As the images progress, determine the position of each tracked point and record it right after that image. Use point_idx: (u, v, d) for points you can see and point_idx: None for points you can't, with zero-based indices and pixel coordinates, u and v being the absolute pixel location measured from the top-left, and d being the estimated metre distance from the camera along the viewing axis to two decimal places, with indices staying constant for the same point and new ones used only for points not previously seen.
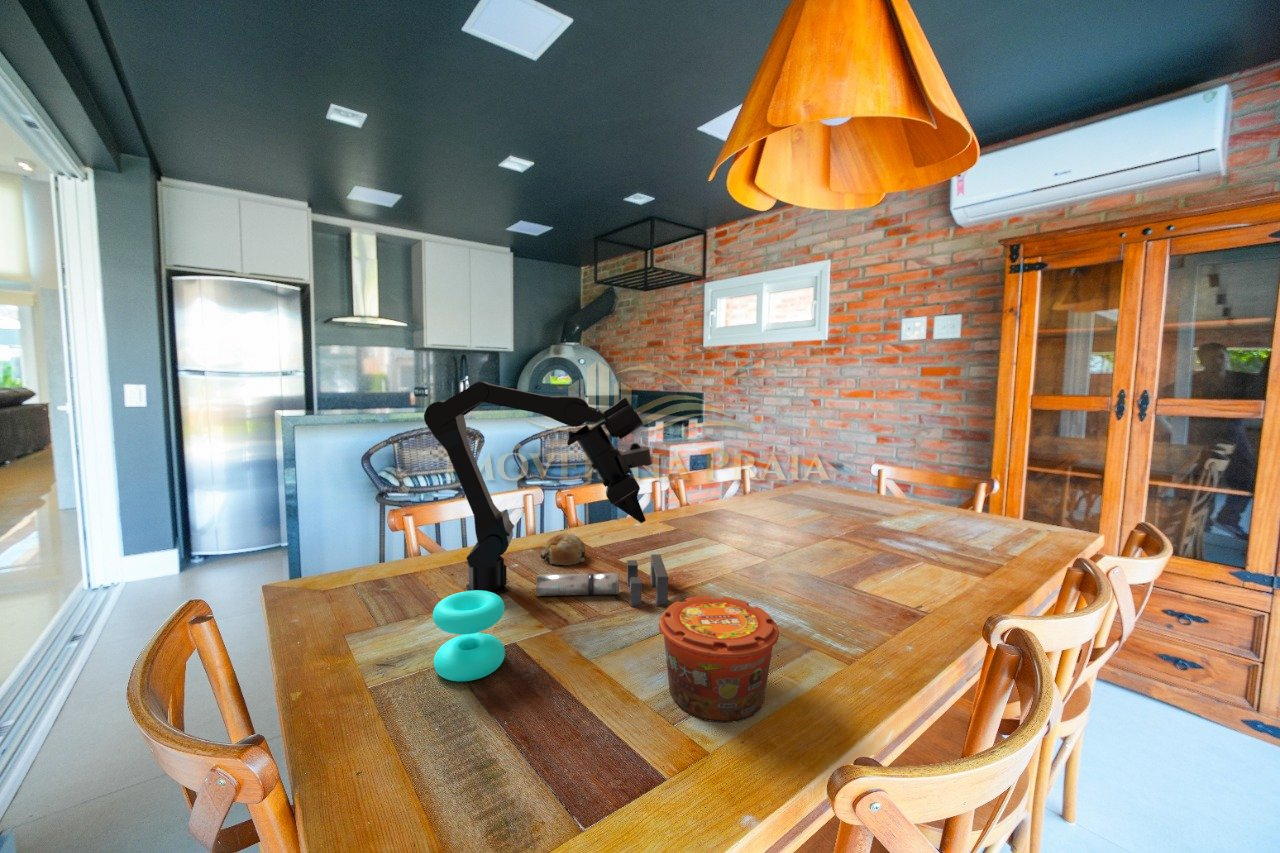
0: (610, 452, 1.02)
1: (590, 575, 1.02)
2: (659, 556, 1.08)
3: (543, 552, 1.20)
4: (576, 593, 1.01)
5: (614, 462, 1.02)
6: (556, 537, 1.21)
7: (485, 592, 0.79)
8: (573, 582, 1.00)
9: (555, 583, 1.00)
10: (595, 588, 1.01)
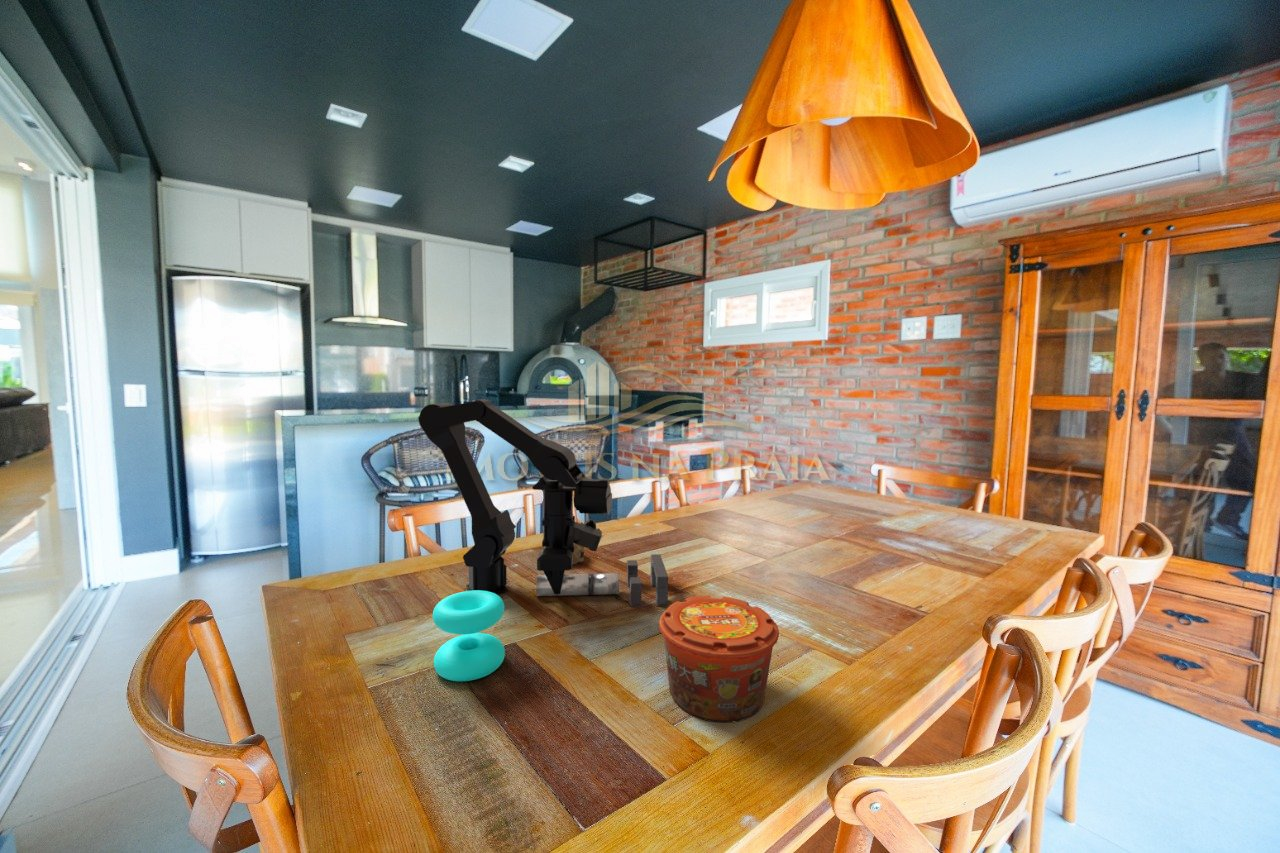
0: (565, 519, 0.99)
1: (590, 575, 1.02)
2: (659, 556, 1.08)
3: None
4: (576, 593, 1.01)
5: (564, 529, 0.99)
6: None
7: (485, 592, 0.79)
8: (573, 583, 1.00)
9: None
10: (595, 589, 1.01)
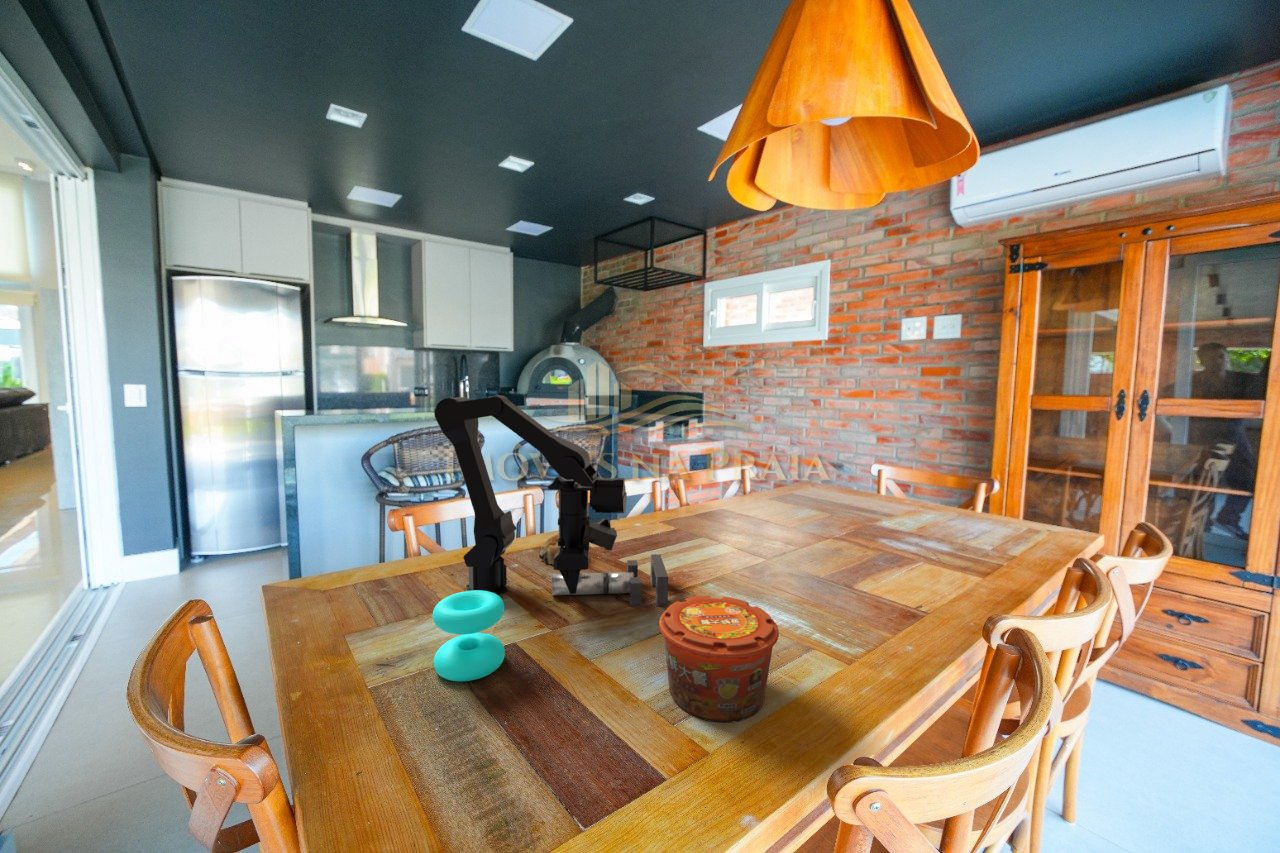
0: (581, 518, 0.99)
1: (605, 574, 1.02)
2: (659, 556, 1.08)
3: (541, 552, 1.20)
4: (591, 592, 1.01)
5: (580, 529, 0.99)
6: (554, 537, 1.21)
7: (485, 592, 0.79)
8: (588, 582, 1.01)
9: None
10: (610, 588, 1.01)
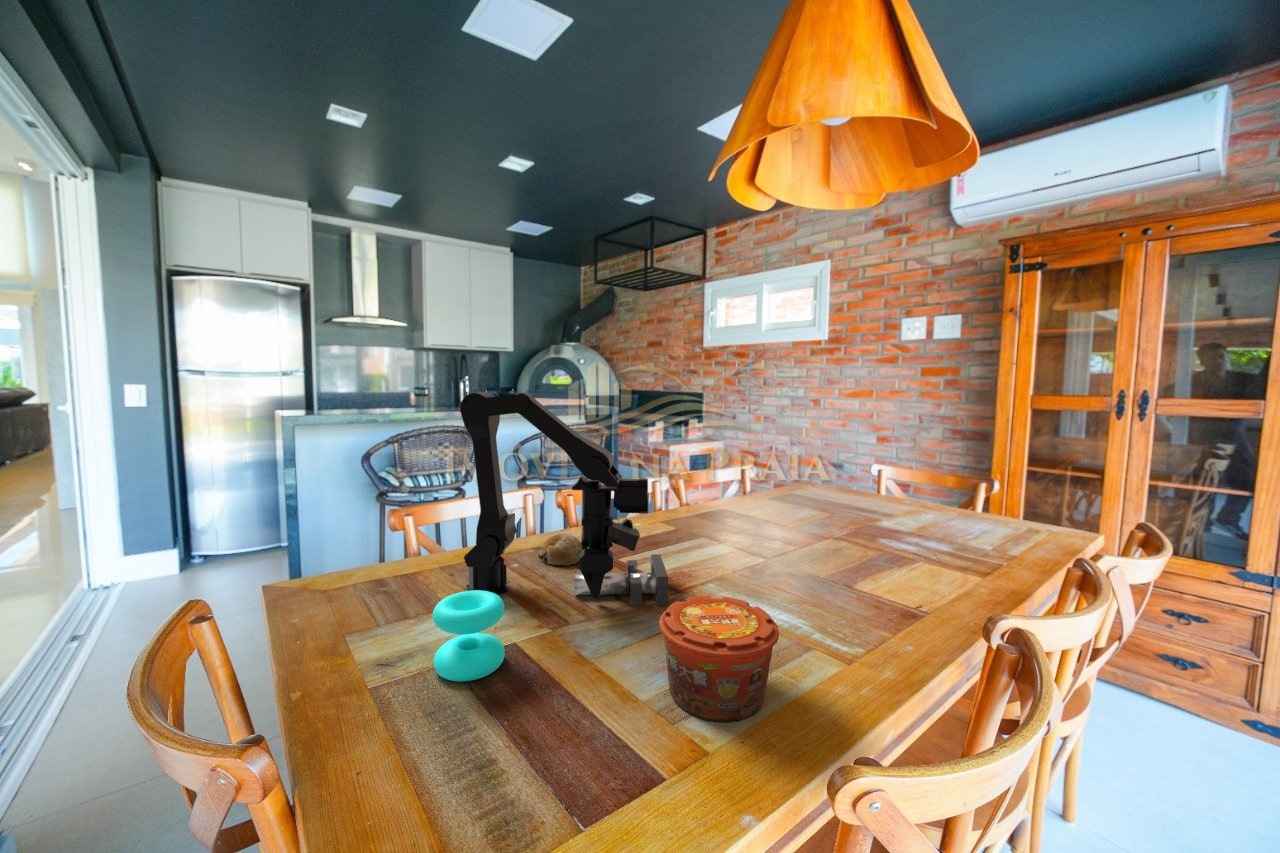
0: (605, 519, 0.99)
1: (627, 575, 1.02)
2: (659, 556, 1.08)
3: (541, 552, 1.20)
4: (614, 592, 1.01)
5: (603, 529, 0.99)
6: (554, 537, 1.21)
7: (485, 592, 0.79)
8: (610, 582, 1.01)
9: None
10: None
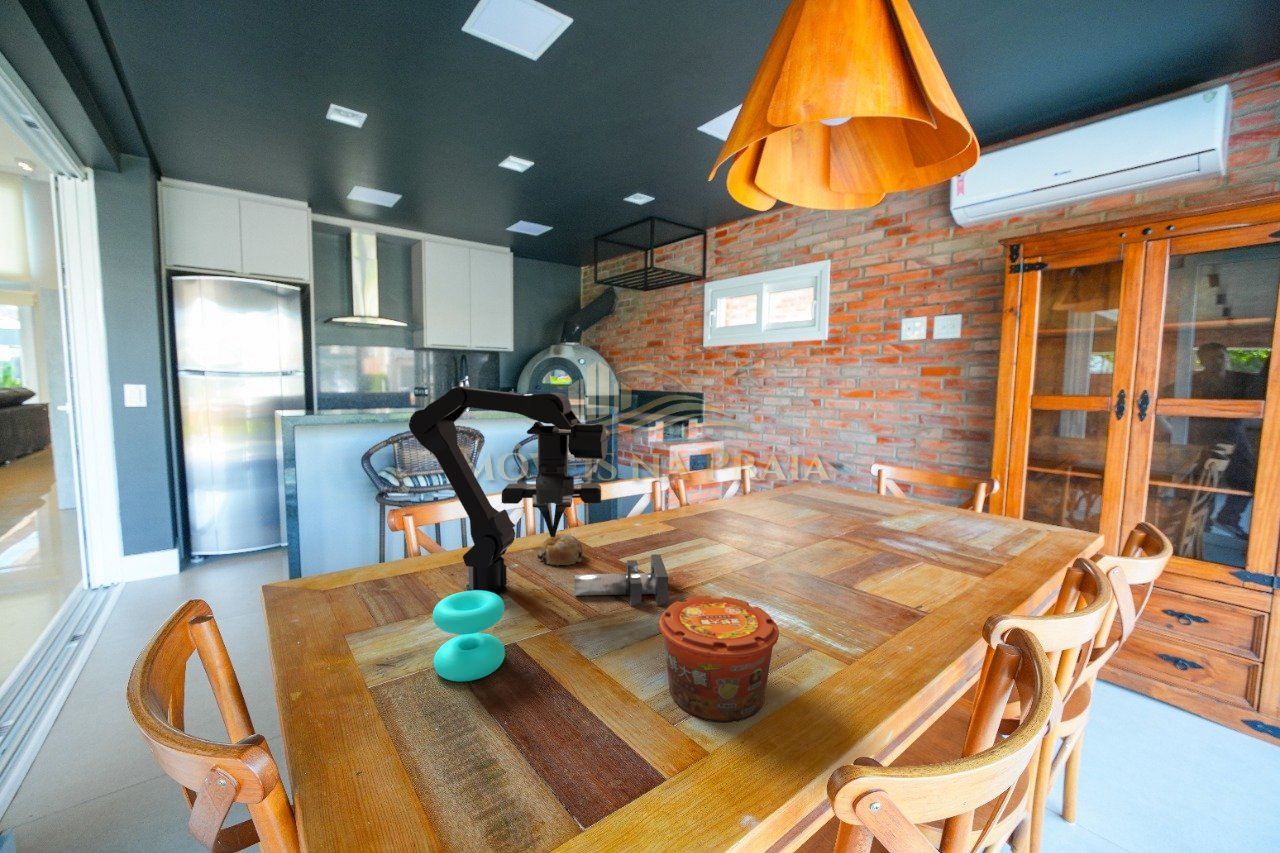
0: (539, 463, 0.98)
1: (627, 576, 1.02)
2: (659, 556, 1.08)
3: (540, 552, 1.20)
4: (614, 594, 1.01)
5: None
6: (553, 537, 1.21)
7: (485, 592, 0.79)
8: (610, 584, 1.01)
9: (593, 585, 1.00)
10: None
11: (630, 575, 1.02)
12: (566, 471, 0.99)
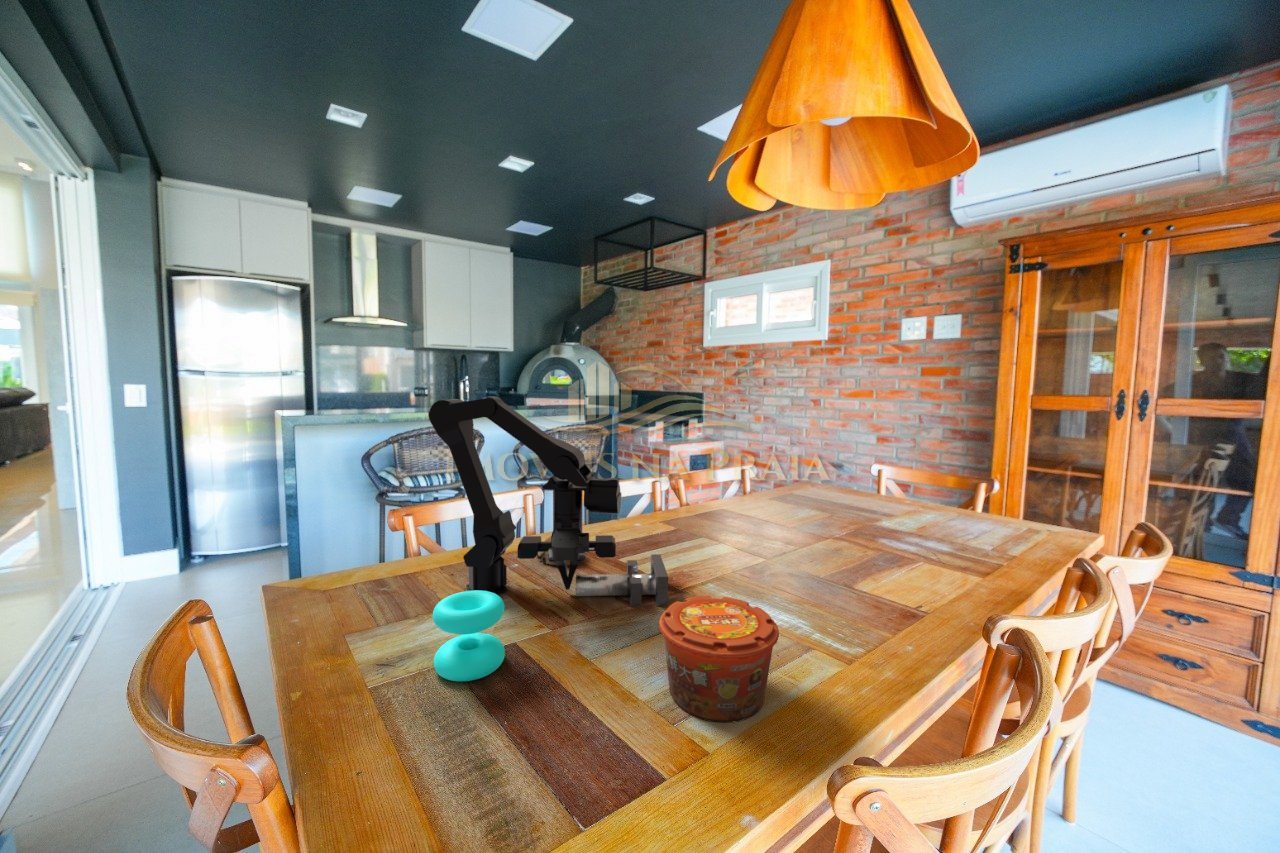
0: (555, 517, 0.99)
1: (629, 578, 1.01)
2: (659, 556, 1.08)
3: (539, 552, 1.20)
4: (615, 595, 1.01)
5: (554, 528, 0.99)
6: None
7: (485, 592, 0.79)
8: (612, 586, 1.00)
9: (594, 587, 1.00)
10: None
11: None
12: (581, 525, 1.00)
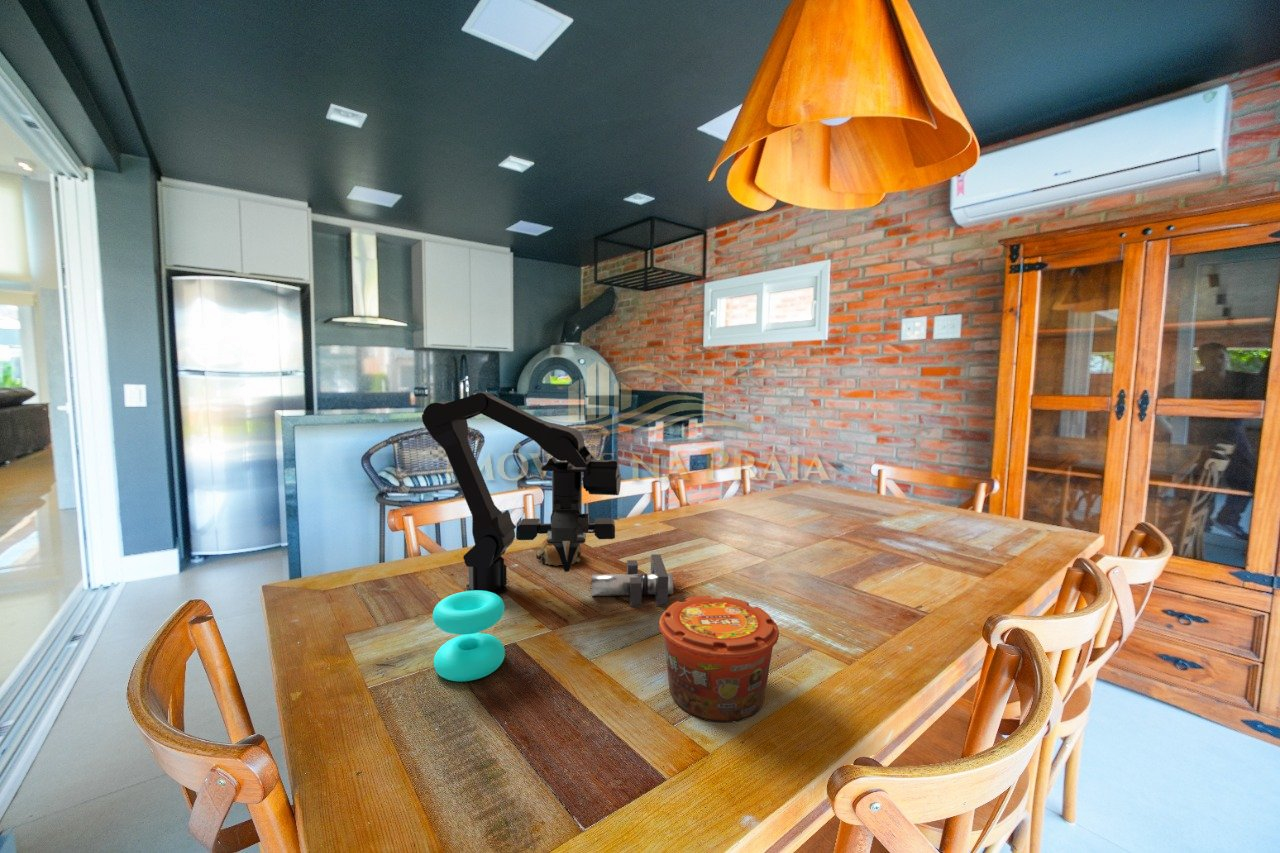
0: (554, 499, 0.99)
1: (644, 577, 1.02)
2: (659, 556, 1.08)
3: (539, 552, 1.19)
4: None
5: None
6: None
7: (485, 592, 0.79)
8: (627, 586, 1.00)
9: (610, 587, 1.00)
10: (649, 591, 1.01)
11: (647, 576, 1.02)
12: (580, 507, 1.00)
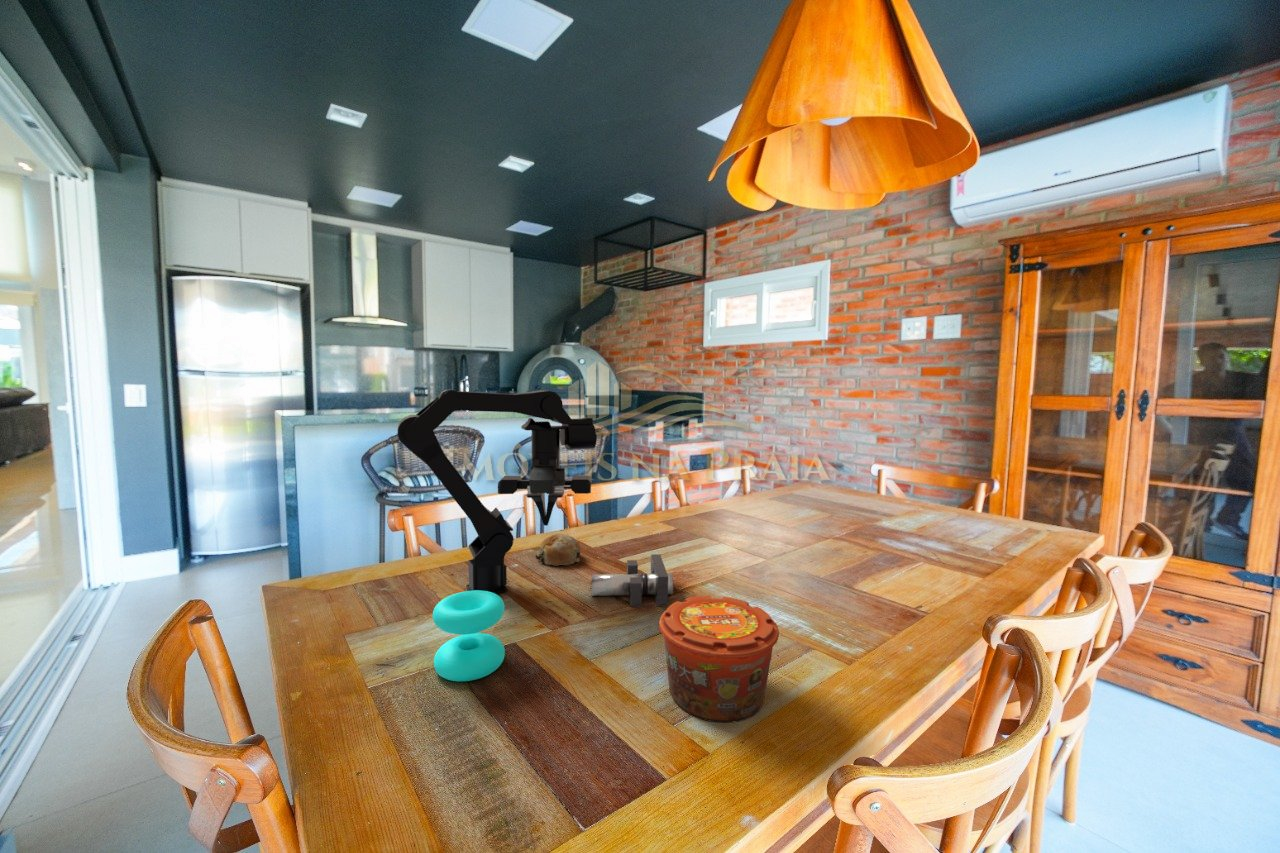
0: (533, 456, 1.05)
1: (644, 577, 1.02)
2: (659, 556, 1.08)
3: (538, 552, 1.19)
4: None
5: None
6: (551, 537, 1.21)
7: (485, 592, 0.79)
8: (627, 586, 1.01)
9: (610, 587, 1.00)
10: (649, 591, 1.01)
11: (647, 576, 1.02)
12: (558, 464, 1.06)
